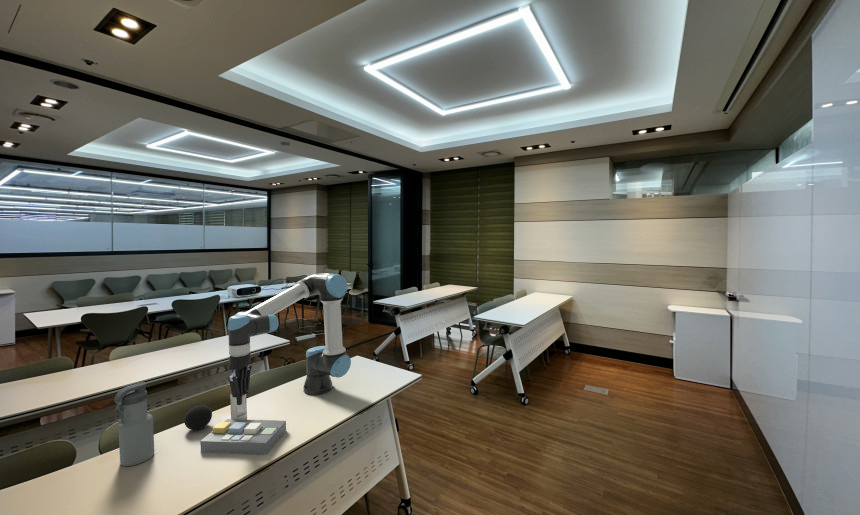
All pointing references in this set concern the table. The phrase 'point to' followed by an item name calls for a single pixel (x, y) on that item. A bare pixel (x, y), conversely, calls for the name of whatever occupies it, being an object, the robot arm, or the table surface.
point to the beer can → (234, 409)
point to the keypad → (244, 439)
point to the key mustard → (221, 427)
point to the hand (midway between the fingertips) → (241, 411)
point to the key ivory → (253, 428)
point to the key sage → (268, 431)
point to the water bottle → (134, 425)
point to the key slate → (237, 428)
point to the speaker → (198, 417)
